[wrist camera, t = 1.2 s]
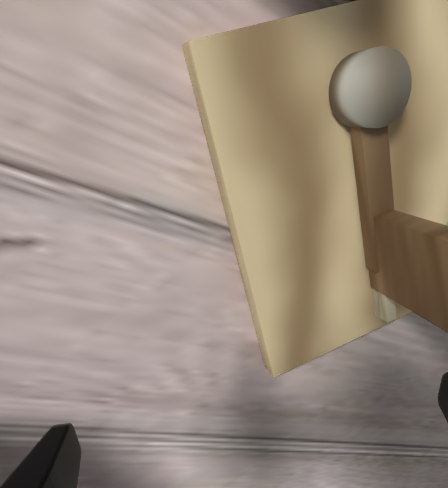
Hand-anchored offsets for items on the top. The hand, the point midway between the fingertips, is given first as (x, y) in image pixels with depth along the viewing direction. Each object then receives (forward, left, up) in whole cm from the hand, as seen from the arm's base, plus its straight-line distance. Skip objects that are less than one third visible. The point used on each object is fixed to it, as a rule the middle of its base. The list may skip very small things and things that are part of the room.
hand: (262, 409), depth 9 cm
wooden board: (+12, -6, -12) cm, 19 cm away
